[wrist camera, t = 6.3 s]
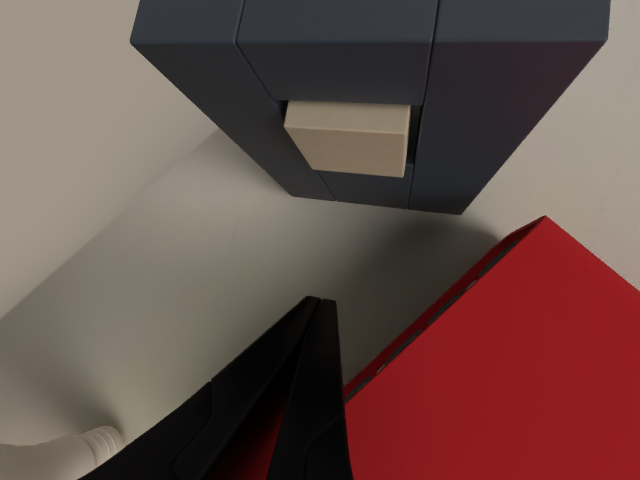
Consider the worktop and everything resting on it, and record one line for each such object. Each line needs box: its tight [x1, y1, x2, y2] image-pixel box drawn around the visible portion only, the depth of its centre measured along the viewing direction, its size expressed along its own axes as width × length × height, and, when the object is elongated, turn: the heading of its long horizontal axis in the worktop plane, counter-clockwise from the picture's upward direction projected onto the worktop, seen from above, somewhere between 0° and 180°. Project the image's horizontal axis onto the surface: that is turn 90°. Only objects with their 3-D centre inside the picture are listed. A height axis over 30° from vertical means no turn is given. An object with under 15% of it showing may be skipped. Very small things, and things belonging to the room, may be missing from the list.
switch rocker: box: [284, 100, 414, 177], centre depth 10 cm, size 3×3×3 cm
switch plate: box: [130, 0, 611, 215], centre depth 12 cm, size 2×9×12 cm, turn 80°
